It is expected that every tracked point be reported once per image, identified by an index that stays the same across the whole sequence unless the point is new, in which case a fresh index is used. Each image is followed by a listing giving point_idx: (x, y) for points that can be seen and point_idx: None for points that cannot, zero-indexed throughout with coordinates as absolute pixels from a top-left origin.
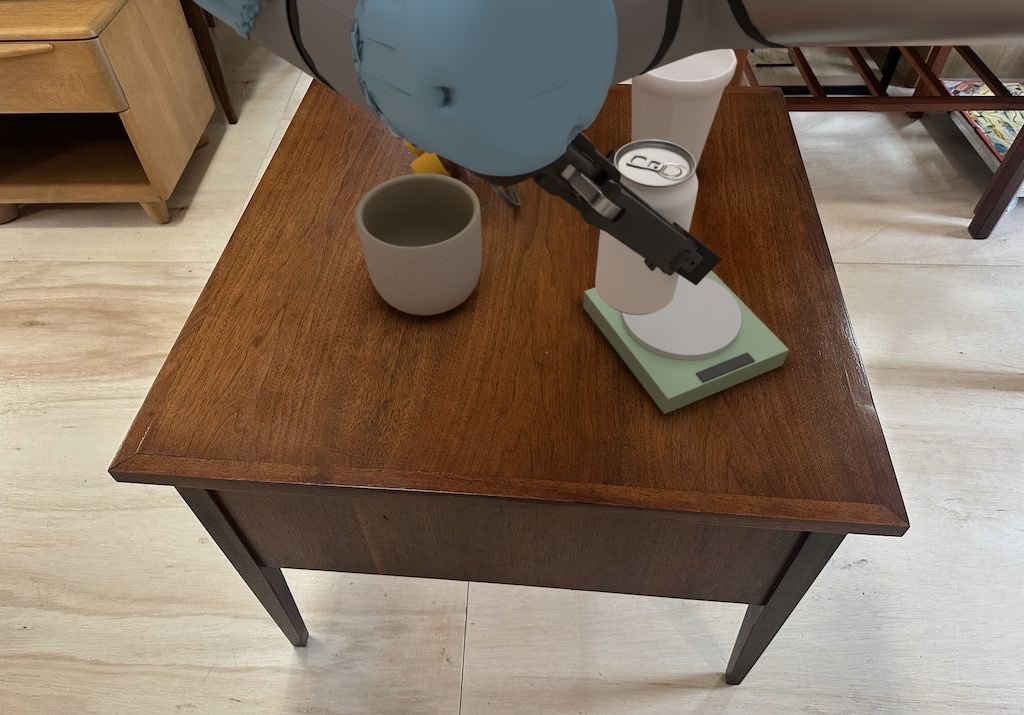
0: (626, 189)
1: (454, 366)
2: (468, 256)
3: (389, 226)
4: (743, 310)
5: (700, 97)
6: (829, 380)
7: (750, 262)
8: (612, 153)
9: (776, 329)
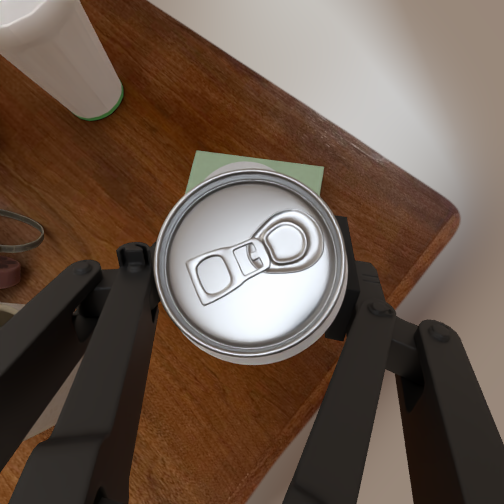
0: (358, 480)
1: (156, 398)
2: None
3: None
4: (271, 165)
5: (67, 14)
6: (351, 159)
7: (226, 118)
8: (126, 254)
9: (291, 153)
